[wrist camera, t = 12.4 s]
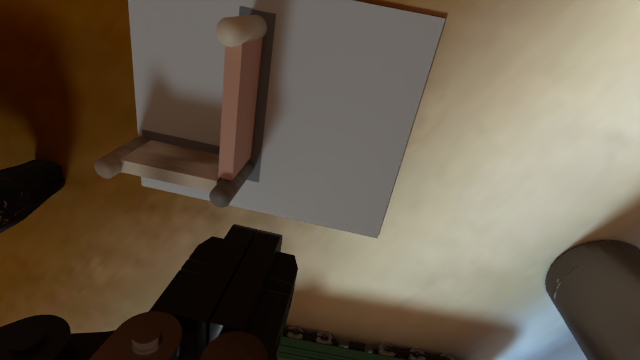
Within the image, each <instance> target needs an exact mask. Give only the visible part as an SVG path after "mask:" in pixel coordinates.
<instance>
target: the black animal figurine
mask: <svg viewBox="0 0 640 360" xmlns="http://www.w3.org/2000/svg"><path fill="white" fill-rule="evenodd" d="M63 186H64V181H63V177H62V175H61V166H60V165H57V164H54V163H51V162H48V161H43V160H32V161H29V162H27V163H24V164H21V165H18V166H15V167H10V168H6V169H2V170H0V233H1V232H3V231H4V230H6V229H8V228H10V227H12V226H14V225H15V224H17V223H19V222H20V221H22V220H24V219H25V218H26V217H27V216H28V215H30V214H31V213H32V212H33V211H34V210H36V209H37V208H38V207H39V206H40V205H41V204H43V203H44V202H45V201H46V200H47V199H48V198H49V197H51V196H52V195H53V194H55V193H56V192H58V191H59V190H60V189H61V188H63Z"/></svg>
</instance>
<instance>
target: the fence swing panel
mask: <svg viewBox="0 0 640 360" xmlns="http://www.w3.org/2000/svg"><path fill="white" fill-rule="evenodd" d="M266 32H267V24H266V21H265V20H264V19H263V18H262V17H261V16H259V15H246V16H235V17H225V18H222V19H221V20H220V21H219V22H218V23H217V26H216V34H217V37H218V39H219V41H220V42H221V43H222V44H223V45H225V59H224V77H223V96H222V115H221V134H220V153H219V171H218V177H219V178H224V179H228V180H233V179H234V178H235V176H236V175H237V174H238V173H239V171H240V170H241V169H242V168H243V166H244V165H245V164H246V163H247V161H248V160H249V159H250V157H251V150H252V140H253V130H254V120H255V109H256V99H257V89H258V79H259V69H260V59H261V49H262V39H263V37H264V36H265V34H266Z"/></svg>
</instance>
